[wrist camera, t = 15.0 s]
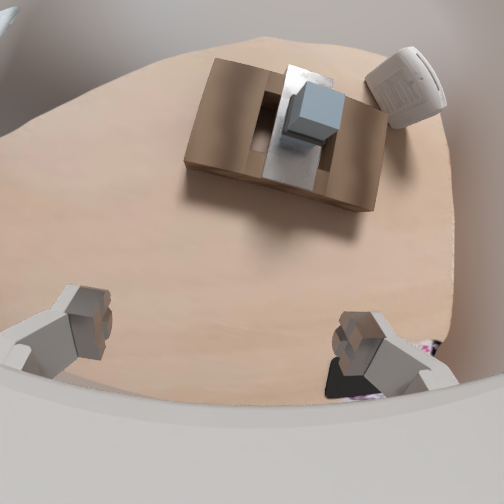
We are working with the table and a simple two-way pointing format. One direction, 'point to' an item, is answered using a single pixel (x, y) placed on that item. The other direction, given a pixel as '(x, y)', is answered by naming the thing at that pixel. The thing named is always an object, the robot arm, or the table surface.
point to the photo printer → (406, 88)
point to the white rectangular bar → (286, 152)
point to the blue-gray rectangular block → (312, 115)
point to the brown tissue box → (251, 162)
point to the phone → (346, 383)
